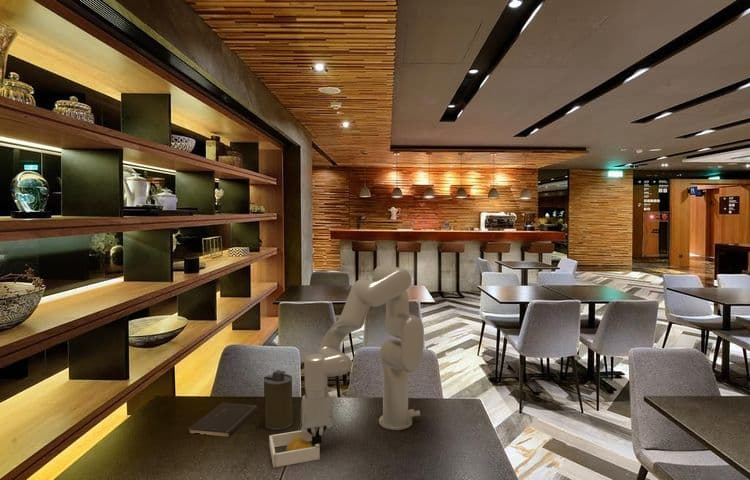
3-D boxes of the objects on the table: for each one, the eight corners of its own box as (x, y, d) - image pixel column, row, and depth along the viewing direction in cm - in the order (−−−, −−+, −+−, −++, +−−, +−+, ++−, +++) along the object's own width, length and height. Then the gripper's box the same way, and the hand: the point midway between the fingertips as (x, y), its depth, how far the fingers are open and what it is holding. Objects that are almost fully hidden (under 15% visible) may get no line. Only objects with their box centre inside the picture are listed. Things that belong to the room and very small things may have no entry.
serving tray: (312, 439, 154) (312, 426, 153) (319, 459, 141) (319, 445, 141) (269, 446, 149) (269, 433, 149) (273, 467, 136) (273, 453, 136)
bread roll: (298, 462, 139) (298, 450, 139) (282, 452, 146) (282, 440, 145) (319, 452, 145) (318, 441, 145) (303, 443, 151) (302, 431, 151)
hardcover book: (188, 434, 159) (188, 428, 158) (222, 407, 181) (222, 402, 181) (229, 438, 156) (229, 432, 155) (258, 410, 178) (258, 405, 178)
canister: (298, 419, 169) (297, 368, 168) (284, 432, 159) (283, 377, 158) (273, 415, 173) (272, 365, 172) (258, 427, 163) (257, 374, 162)
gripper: (335, 385, 152) (335, 436, 153) (291, 391, 147) (292, 444, 148) (340, 393, 145) (341, 447, 146) (295, 399, 140) (296, 455, 141)
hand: (316, 445), depth 147 cm, fingers closed
